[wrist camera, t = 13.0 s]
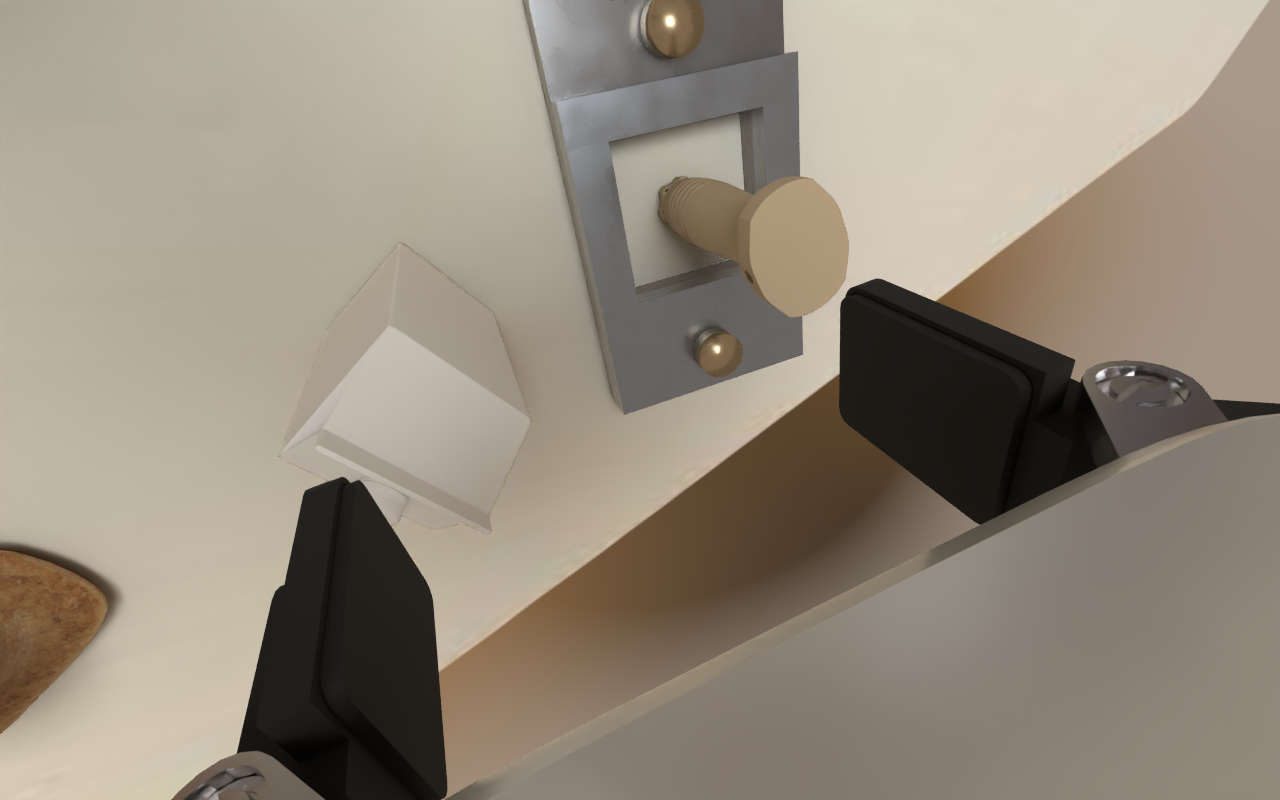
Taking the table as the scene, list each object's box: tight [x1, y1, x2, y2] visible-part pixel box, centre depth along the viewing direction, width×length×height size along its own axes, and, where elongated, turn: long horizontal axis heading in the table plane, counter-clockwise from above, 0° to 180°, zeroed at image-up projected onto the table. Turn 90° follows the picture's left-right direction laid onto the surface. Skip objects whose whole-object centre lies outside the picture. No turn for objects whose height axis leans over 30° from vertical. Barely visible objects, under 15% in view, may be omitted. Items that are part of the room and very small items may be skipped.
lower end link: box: [523, 0, 784, 340], centre depth 35 cm, size 20×15×3 cm
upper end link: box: [551, 52, 803, 415], centre depth 38 cm, size 20×15×5 cm
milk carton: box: [278, 243, 532, 534], centre depth 28 cm, size 7×7×19 cm
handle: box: [658, 176, 849, 317], centre depth 32 cm, size 5×6×15 cm
